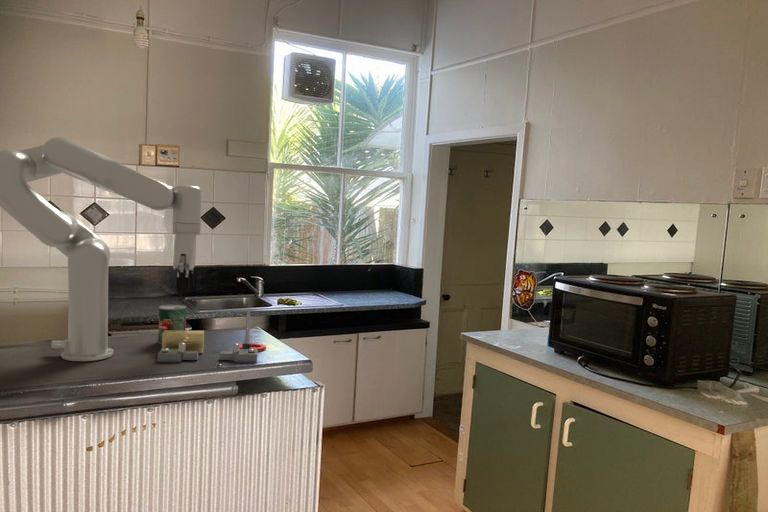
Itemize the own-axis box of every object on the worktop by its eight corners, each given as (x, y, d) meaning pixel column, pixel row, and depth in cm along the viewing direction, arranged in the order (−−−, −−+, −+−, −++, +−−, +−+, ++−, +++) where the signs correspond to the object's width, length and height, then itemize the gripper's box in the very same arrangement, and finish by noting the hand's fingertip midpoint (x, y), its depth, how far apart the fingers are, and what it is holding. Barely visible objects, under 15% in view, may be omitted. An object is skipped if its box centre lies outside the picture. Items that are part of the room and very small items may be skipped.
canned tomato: (152, 343, 175) (153, 307, 174) (167, 338, 182) (168, 303, 182) (176, 346, 173) (177, 309, 172) (190, 340, 181) (191, 305, 180)
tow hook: (243, 345, 180) (231, 351, 171) (246, 304, 179) (234, 307, 170) (269, 348, 179) (258, 354, 169) (272, 306, 178) (261, 310, 169)
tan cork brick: (161, 354, 164) (162, 333, 163) (163, 350, 168) (164, 330, 167) (202, 354, 166) (203, 333, 166) (203, 350, 170) (204, 330, 170)
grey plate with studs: (157, 362, 155) (157, 345, 155) (161, 356, 161) (162, 340, 161) (256, 362, 160) (257, 346, 160) (257, 356, 166) (257, 341, 166)
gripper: (177, 227, 172) (176, 284, 173) (167, 230, 155) (165, 293, 156) (203, 228, 173) (202, 285, 175) (196, 231, 156) (195, 294, 158)
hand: (185, 289), depth 166 cm, fingers open, 9 cm apart
